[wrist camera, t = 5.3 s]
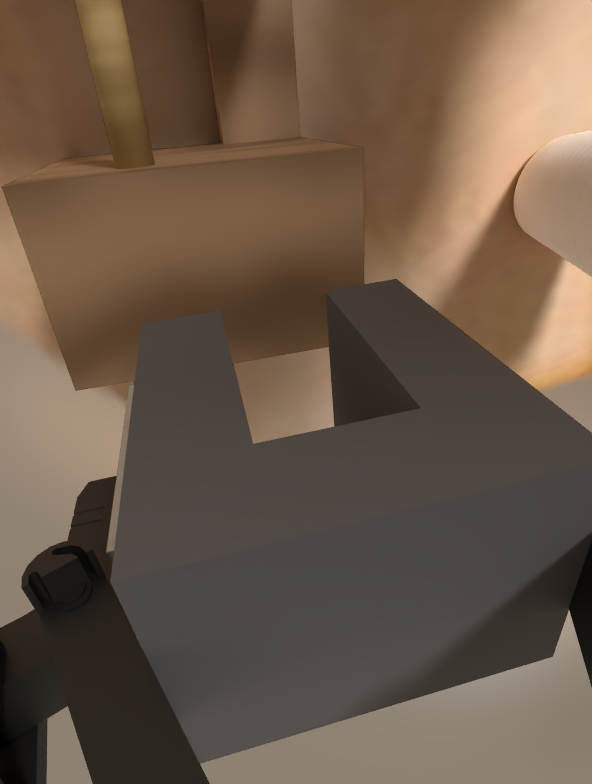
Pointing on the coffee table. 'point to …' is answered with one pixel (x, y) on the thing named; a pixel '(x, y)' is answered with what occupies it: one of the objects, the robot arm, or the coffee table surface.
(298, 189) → the wooden block dumbbell
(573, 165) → the cup
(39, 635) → the robot arm
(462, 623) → the slotted gray cube
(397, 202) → the coffee table surface
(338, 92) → the coffee table surface
